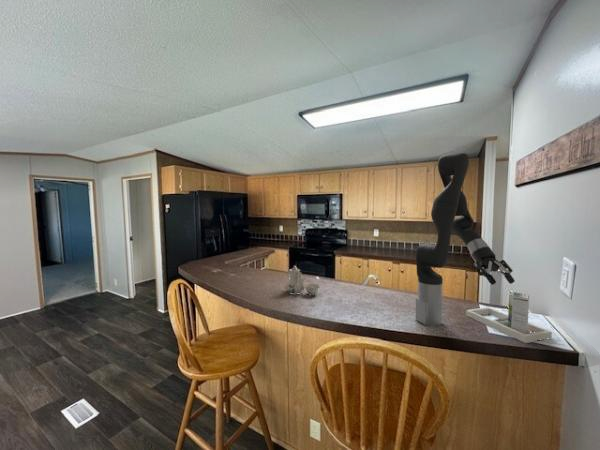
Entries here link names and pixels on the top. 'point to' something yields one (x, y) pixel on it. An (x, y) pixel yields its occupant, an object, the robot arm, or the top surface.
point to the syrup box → (518, 312)
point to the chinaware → (299, 283)
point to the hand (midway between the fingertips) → (503, 283)
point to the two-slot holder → (503, 325)
